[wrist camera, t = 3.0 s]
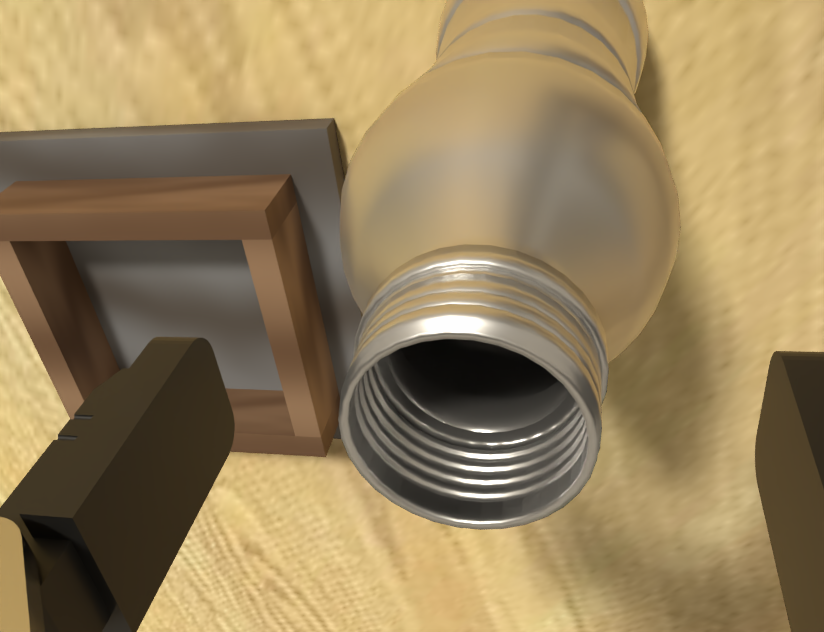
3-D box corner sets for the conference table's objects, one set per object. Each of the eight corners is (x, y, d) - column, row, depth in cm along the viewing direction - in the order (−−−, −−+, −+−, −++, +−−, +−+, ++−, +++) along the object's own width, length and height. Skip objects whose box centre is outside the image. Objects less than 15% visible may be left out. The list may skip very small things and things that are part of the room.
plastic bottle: (445, 111, 29) (258, 557, 13) (455, -94, 25) (203, 187, 9) (623, 127, 28) (658, 628, 12) (663, -82, 24) (794, 254, 8)
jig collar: (-24, 133, 33) (-90, 174, 30) (333, 118, 30) (302, 162, 27) (103, 412, 42) (63, 467, 39) (388, 426, 39) (370, 487, 36)
